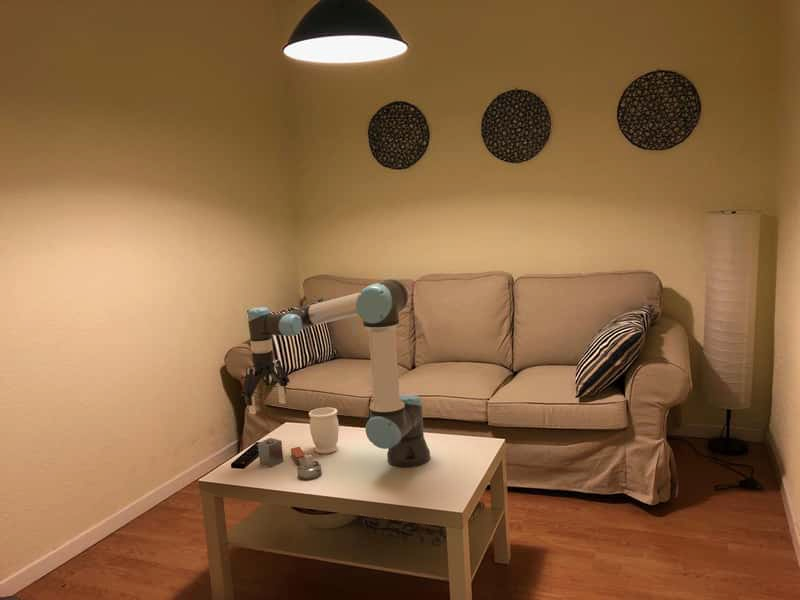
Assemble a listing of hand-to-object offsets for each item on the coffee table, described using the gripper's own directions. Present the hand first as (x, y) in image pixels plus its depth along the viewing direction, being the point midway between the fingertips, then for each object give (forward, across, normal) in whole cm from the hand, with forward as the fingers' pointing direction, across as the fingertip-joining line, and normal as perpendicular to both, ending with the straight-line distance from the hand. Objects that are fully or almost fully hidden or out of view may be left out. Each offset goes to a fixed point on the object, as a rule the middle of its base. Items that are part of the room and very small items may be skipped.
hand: (267, 408), depth 248 cm
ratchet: (+20, -2, +15) cm, 25 cm away
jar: (+20, -17, +10) cm, 28 cm away
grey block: (+20, +2, +2) cm, 20 cm away
